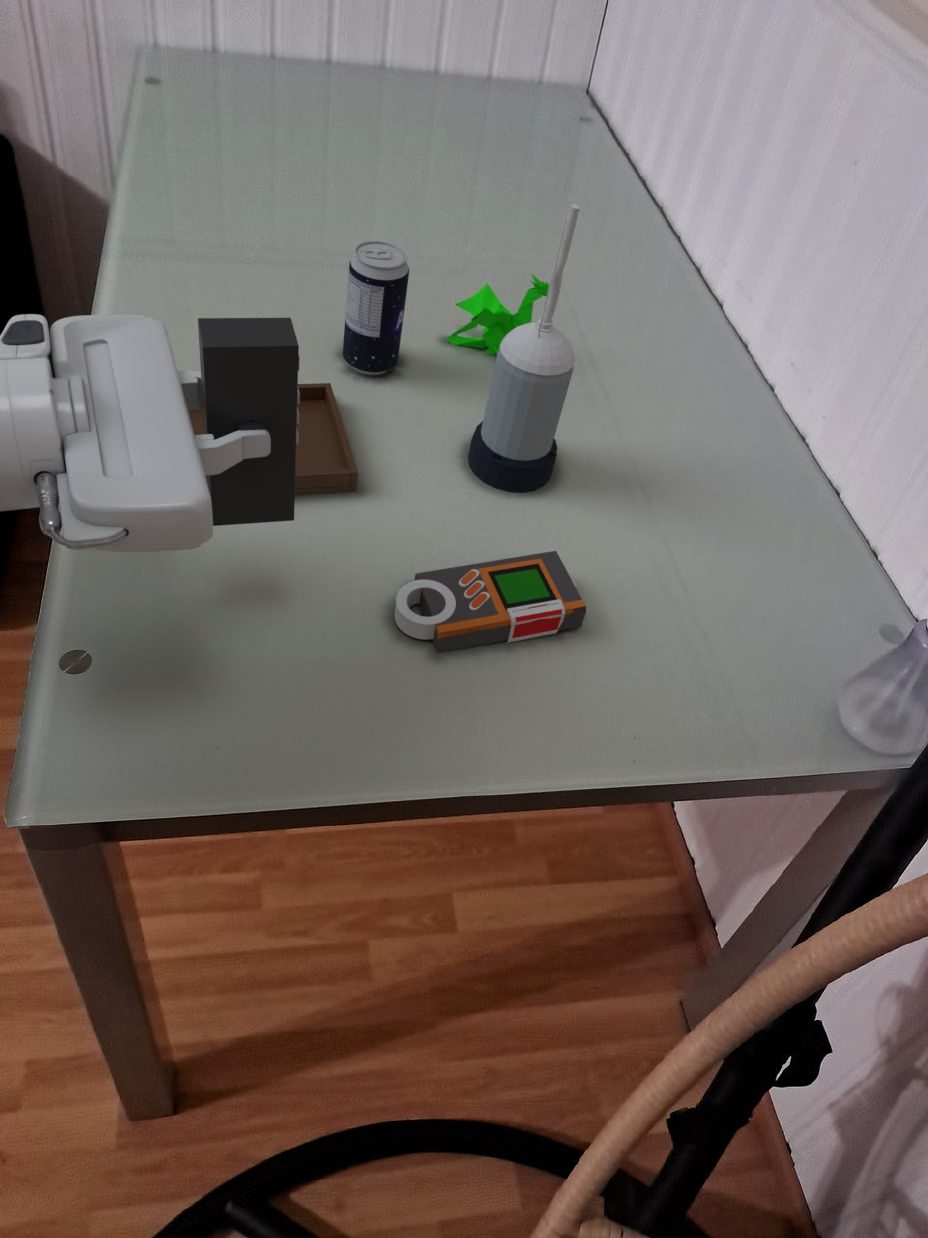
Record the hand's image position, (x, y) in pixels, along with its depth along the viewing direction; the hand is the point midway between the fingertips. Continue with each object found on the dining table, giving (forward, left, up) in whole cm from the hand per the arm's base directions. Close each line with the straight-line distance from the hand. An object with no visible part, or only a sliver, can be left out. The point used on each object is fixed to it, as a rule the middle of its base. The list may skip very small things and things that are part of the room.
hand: (261, 416), depth 62 cm
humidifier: (+25, +14, -17) cm, 34 cm away
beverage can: (+15, +31, -17) cm, 38 cm away
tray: (+1, +18, -17) cm, 25 cm away
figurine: (+29, +33, -17) cm, 47 cm away
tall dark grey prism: (-1, 0, -8) cm, 8 cm away
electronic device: (+17, -4, -17) cm, 25 cm away
